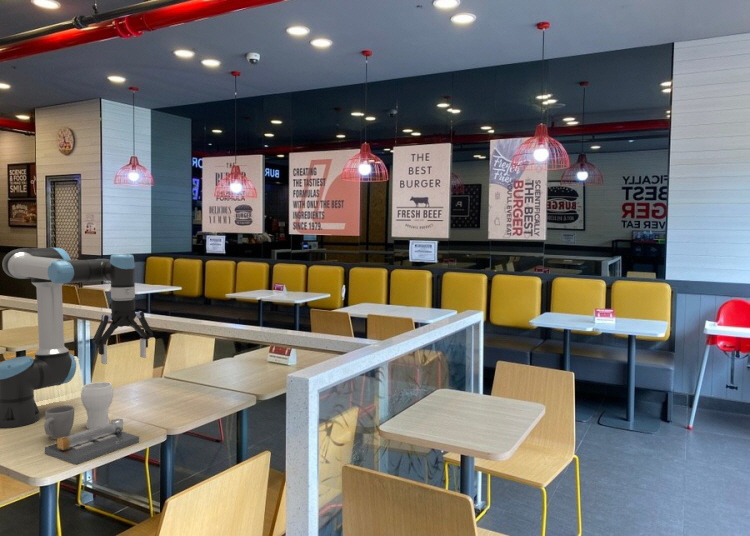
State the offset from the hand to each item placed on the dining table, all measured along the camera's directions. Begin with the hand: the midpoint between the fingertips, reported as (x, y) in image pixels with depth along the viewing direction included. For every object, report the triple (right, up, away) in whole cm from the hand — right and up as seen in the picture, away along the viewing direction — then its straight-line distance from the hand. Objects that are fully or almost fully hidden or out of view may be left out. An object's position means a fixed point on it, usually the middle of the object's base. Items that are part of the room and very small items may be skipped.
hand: (124, 360), depth 195 cm
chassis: (-6, -27, -9) cm, 29 cm away
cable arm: (-7, -25, -8) cm, 27 cm away
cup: (-15, -26, +12) cm, 32 cm away
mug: (-23, -27, -1) cm, 35 cm away
